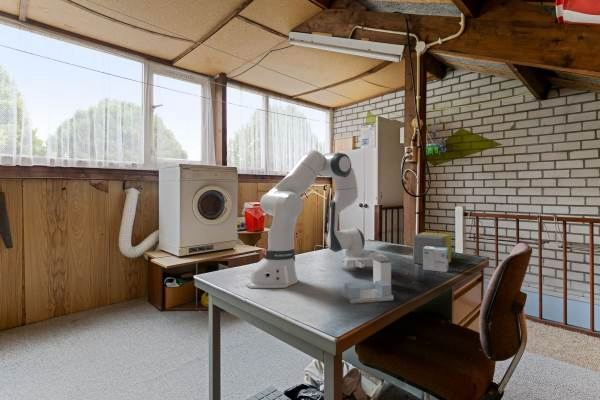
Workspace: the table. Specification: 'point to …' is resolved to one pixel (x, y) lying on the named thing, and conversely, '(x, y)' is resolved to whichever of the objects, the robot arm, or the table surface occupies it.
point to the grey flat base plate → (368, 297)
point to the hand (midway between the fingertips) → (372, 265)
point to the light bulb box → (435, 258)
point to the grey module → (381, 269)
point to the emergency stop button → (429, 244)
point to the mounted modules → (380, 287)
